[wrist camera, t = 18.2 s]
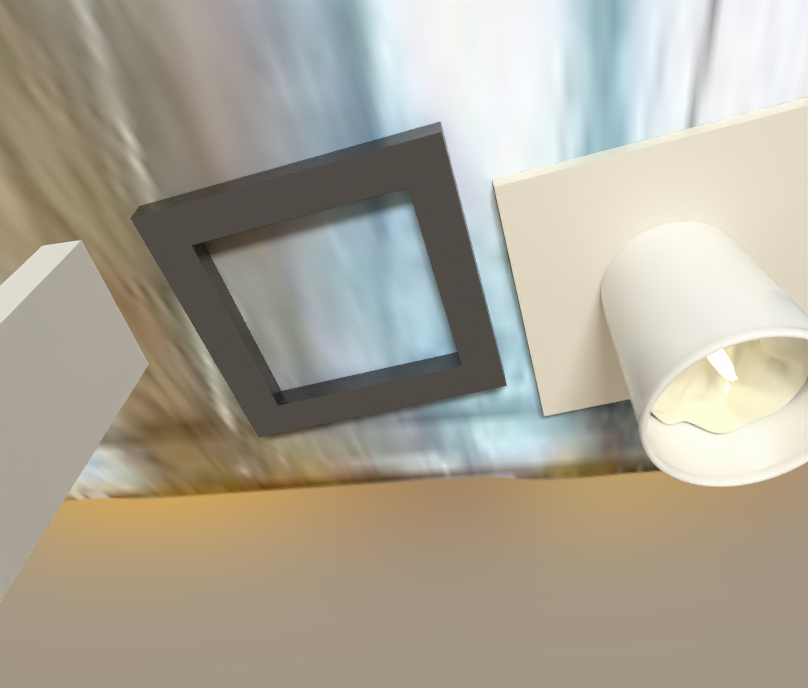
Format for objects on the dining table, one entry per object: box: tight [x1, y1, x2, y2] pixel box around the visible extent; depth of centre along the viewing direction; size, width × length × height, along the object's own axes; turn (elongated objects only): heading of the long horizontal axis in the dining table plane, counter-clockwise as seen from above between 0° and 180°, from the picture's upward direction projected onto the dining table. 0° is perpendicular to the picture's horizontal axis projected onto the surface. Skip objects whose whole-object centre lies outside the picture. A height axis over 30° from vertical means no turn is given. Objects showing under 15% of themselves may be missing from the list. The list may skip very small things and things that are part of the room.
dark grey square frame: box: [131, 122, 507, 437], centre depth 42 cm, size 18×18×2 cm
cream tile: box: [492, 97, 808, 416], centre depth 41 cm, size 18×18×1 cm
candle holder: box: [601, 221, 808, 487], centre depth 36 cm, size 10×10×12 cm
